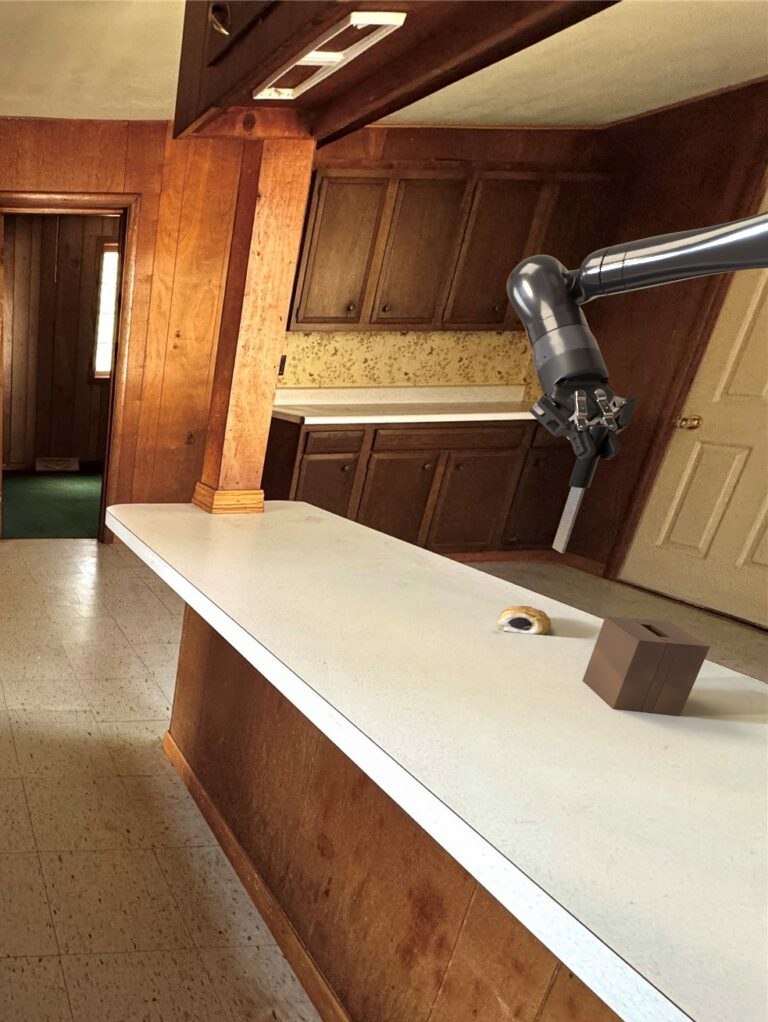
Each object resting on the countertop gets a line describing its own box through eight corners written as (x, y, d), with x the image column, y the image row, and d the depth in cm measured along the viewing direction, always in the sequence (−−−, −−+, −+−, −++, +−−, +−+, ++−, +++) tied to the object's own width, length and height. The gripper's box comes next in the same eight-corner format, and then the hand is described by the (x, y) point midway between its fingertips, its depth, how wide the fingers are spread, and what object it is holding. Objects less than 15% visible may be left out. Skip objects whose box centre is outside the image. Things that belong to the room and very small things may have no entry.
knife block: (641, 692, 92) (669, 620, 88) (677, 722, 85) (710, 646, 81) (579, 686, 94) (605, 616, 90) (610, 715, 87) (639, 640, 83)
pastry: (506, 613, 118) (512, 593, 117) (554, 624, 113) (561, 604, 112) (493, 629, 112) (499, 608, 111) (543, 641, 108) (550, 620, 106)
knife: (562, 548, 105) (602, 424, 97) (572, 553, 102) (614, 427, 95) (544, 547, 105) (582, 424, 98) (553, 552, 103) (593, 426, 96)
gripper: (534, 347, 100) (564, 441, 94) (637, 344, 98) (676, 440, 92) (503, 381, 107) (529, 471, 101) (599, 379, 105) (633, 470, 99)
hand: (599, 456), depth 96 cm, fingers closed on knife, 2 cm apart
